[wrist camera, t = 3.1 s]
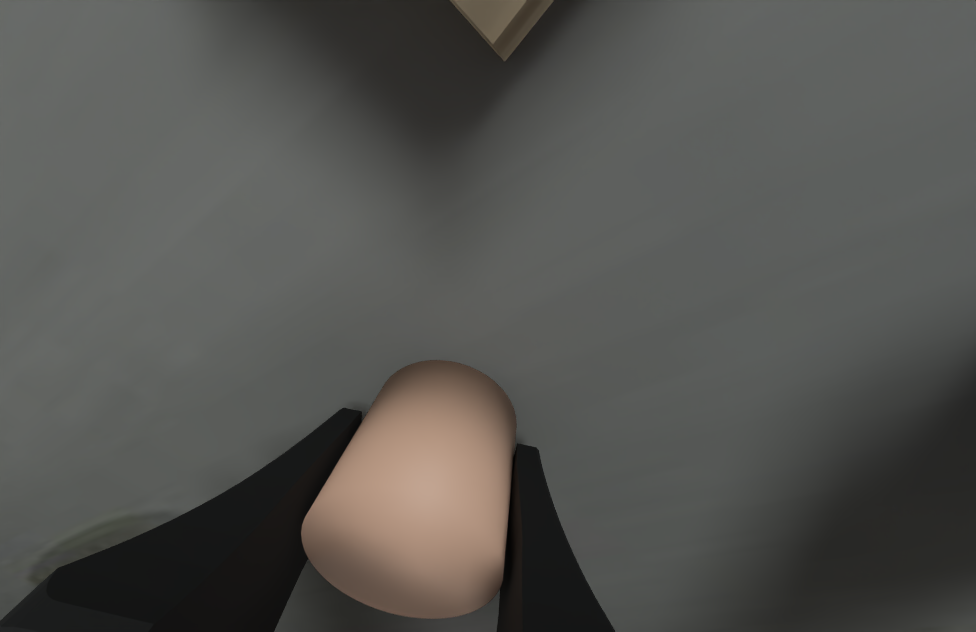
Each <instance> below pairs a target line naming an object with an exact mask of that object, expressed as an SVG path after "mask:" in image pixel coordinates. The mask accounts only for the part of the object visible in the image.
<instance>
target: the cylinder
mask: <svg viewBox="0 0 976 632" xmlns="http://www.w3.org/2000/svg"><path fill="white" fill-rule="evenodd" d="M516 425H517V423H516V415H515V411H514V408H513V406H512V403H511V401H510V400H509V398H508V396H507V395H506V393H505V392H504V391H503V390H502V388H501V387H500V386H499V385H498V384H496V383H495V382H494V381H493V380H492V379H490V378H489V377H488V376H486V375H485V374H483V373H481V372H480V371H478V370H476V369H474V368H471V367H469V366H466V365H463V364H460V363H455V362H451V361H442V360H430V361H422V362H418V363H414V364H411V365H408V366H406V367H404V368H402V369H400V370H399V371H397V372H396V373H395V374H393V375H392V376H391V377H390V378H389V379H388V380H387V381H386V383H385V384H384V386H383V387H382V389H381V391H380V392H379V394H378V396H377V398H376V399H375V401H374V403H373V404H372V406H371V408H370V409H369V411H368V413H367V414H366V416H365V418H364V419H363V421H362V423H361V424H360V426H359V428H358V429H357V431H356V433H355V434H354V436H353V438H352V439H351V441H350V443H349V444H348V446H347V448H346V449H345V451H344V453H343V454H342V456H341V458H340V459H339V461H338V463H337V464H336V466H335V468H334V470H333V471H332V473H331V475H330V476H329V478H328V480H327V481H326V483H325V485H324V486H323V488H322V490H321V491H320V493H319V495H318V496H317V498H316V500H315V501H314V503H313V505H312V506H311V508H310V510H309V511H308V513H307V515H306V516H305V518H304V521H303V524H302V530H301V537H302V544H303V547H304V550H305V552H306V555H307V557H308V559H309V560H310V562H311V563H312V565H313V566H314V567H315V568H316V570H317V571H318V572H319V573H320V574H321V575H322V576H323V577H324V578H325V579H326V580H327V581H328V582H329V583H331V584H332V585H333V586H334V587H336V588H337V589H339V590H340V591H342V592H343V593H345V594H346V595H348V596H350V597H351V598H353V599H355V600H357V601H359V602H361V603H363V604H366V605H368V606H371V607H373V608H376V609H378V610H382V611H385V612H388V613H392V614H396V615H400V616H406V617H412V618H423V619H440V618H450V617H456V616H461V615H464V614H468V613H470V612H473V611H475V610H477V609H479V608H481V607H483V606H484V605H486V604H487V603H488V602H490V601H491V600H492V599H493V598H494V596H495V595H496V594H497V592H498V591H499V589H500V587H501V584H502V581H503V572H504V561H505V550H506V539H507V527H508V516H509V505H510V493H511V482H512V471H513V459H514V448H515V437H516Z"/></svg>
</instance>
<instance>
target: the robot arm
mask: <svg viewBox="0 0 976 632" xmlns="http://www.w3.org/2000/svg"><path fill="white" fill-rule="evenodd" d="M361 423H362V412H361V411H356V410H351V409H347V408H342V409H341V410H339V411H338V412H337V413H335V414H334V415H333V416H332V417H330V418H329V419H328V420H327V421H325V422H324V423H323V424H322V425H320V426H319V427H318V428H317V429H315V430H314V431H313V432H312V433H310V434H309V435H308V436H306V437H305V438H304V439H302V440H301V441H300V442H298V443H297V444H296V445H294V446H293V447H292V448H290V449H289V450H288V451H286V452H285V453H284V454H282V455H281V456H279V457H278V458H277V459H275V460H274V461H272V462H271V463H269V464H268V465H266V466H265V467H263V468H262V469H260V470H259V471H258V472H256V473H254V474H253V475H251V476H250V477H248V478H247V479H245V480H244V481H242V482H240V483H239V484H237V485H235V486H234V487H232V488H230V489H229V490H227V491H225V492H224V493H222V494H220V495H218V496H217V497H215V498H213V499H211V500H209V501H207V502H206V503H204V504H202V505H200V506H198V507H196V508H194V509H192V510H191V511H189V512H187V513H185V514H183V515H181V516H179V517H177V518H175V519H173V520H171V521H169V522H167V523H165V524H162V525H160V526H158V527H156V528H154V529H152V530H150V531H147V532H145V533H143V534H141V535H138V536H136V537H134V538H132V539H129V540H127V541H125V542H122V543H120V544H118V545H115V546H113V547H110V548H108V549H105V550H103V551H100V552H98V553H95V554H93V555H90V556H88V557H85V558H83V559H80V560H78V561H75V562H72V563H70V564H67V565H65V566H62V567H59V568H58V569H56V570H55V571H54V572H53V573H52V574H51V575H49V576H48V577H47V578H46V579H45V580H44V581H43V582H42V583H40V584H39V585H38V586H37V587H36V588H35V589H34V590H33V591H32V592H31V593H30V594H29V595H27V596H26V597H25V598H24V599H23V600H22V601H21V602H20V603H19V604H18V605H17V606H16V607H15V608H14V609H12V610H11V611H10V612H9V613H8V614H7V615H6V616H5V617H4V618H3V619H2V620H1V621H0V632H274V630H275V628H276V626H277V624H278V621H279V619H280V617H281V615H282V612H283V610H284V608H285V606H286V604H287V601H288V599H289V597H290V595H291V593H292V591H293V588H294V586H295V584H296V582H297V580H298V578H299V575H300V573H301V571H302V569H303V567H304V565H305V564H306V562H307V560H308V557H307V555H306V552H305V550H304V547H303V544H302V537H301V530H302V524H303V521H304V518H305V516H306V515H307V513H308V511H309V510H310V508H311V506H312V505H313V503H314V501H315V500H316V498H317V496H318V495H319V493H320V491H321V490H322V488H323V486H324V485H325V483H326V481H327V480H328V478H329V476H330V475H331V473H332V471H333V470H334V468H335V466H336V464H337V463H338V461H339V459H340V458H341V456H342V454H343V453H344V451H345V449H346V448H347V446H348V444H349V443H350V441H351V439H352V438H353V436H354V434H355V433H356V431H357V429H358V428H359V426H360V424H361ZM497 632H615V630H614V628H613V627H612V625H611V623H610V622H609V620H608V618H607V617H606V615H605V613H604V611H603V610H602V608H601V606H600V605H599V603H598V601H597V599H596V598H595V596H594V594H593V592H592V590H591V588H590V586H589V584H588V583H587V581H586V579H585V577H584V575H583V573H582V571H581V569H580V567H579V565H578V563H577V561H576V558H575V556H574V554H573V552H572V550H571V547H570V545H569V543H568V540H567V538H566V536H565V533H564V531H563V528H562V526H561V523H560V521H559V518H558V516H557V513H556V510H555V507H554V504H553V501H552V498H551V496H550V492H549V489H548V486H547V483H546V479H545V476H544V472H543V468H542V464H541V459H540V454H539V450H538V449H537V448H536V447H532V446H527V445H522V444H517V447H516V451H515V455H514V459H513V471H512V482H511V493H510V505H509V516H508V527H507V539H506V550H505V561H504V572H503V581H502V584H501V587H500V602H499V616H498V625H497Z"/></svg>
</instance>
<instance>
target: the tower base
mask: <svg viewBox="0 0 976 632" xmlns="http://www.w3.org/2000/svg"><path fill="white" fill-rule="evenodd" d="M450 1H451V2H452V3H453V5H454V6H455V7H456V8H457V9H458V10H459V11H460V12H461V14H462V15H463V16H464V17H465V18H466V19H467V20H468V21H469V23H470V24H471V25H472V26H473V27H474V28H475V29H476V30H477V32H478V33H479V34H480V35H481V36H482V37H483V38H484V39H485V40H486V42H487V43H488V44H489V45H490V46H491V47H492V48H493V49H494V51H495V52H496V53H497V54H498V55H499V56H500V57H501V58H502V60H503V61H504V62H505V61H506V60H507V59H508V57H509V56H510V55H511V54H512V52H513V51H514V50H515V49H516V47H517V46H518V45H519V44H520V42H521V41H522V40H523V39H524V37H525V36H526V35H527V34H528V32H529V31H530V30H531V29H532V27H533V26H534V25H535V24H536V22H537V21H538V20H539V19H540V17H541V16H542V15H543V14H544V12H545V11H546V10H547V9H548V7H549V6H550V5H551V4H552V2H553V1H554V0H450Z"/></svg>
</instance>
